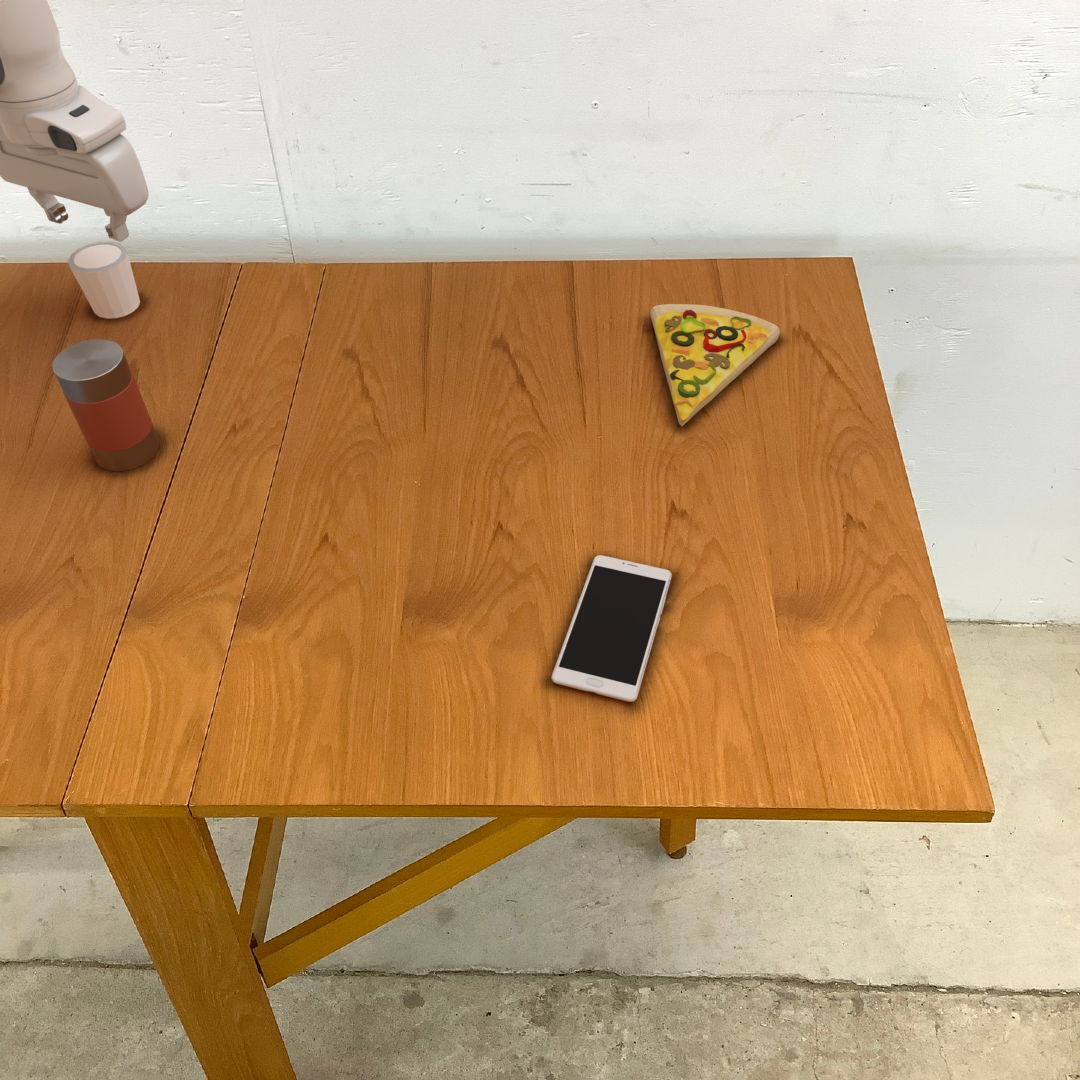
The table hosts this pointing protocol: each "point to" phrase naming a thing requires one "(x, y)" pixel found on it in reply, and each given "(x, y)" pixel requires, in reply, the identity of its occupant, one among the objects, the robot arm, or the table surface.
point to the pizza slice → (706, 350)
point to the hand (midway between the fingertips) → (89, 229)
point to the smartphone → (613, 628)
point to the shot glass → (106, 278)
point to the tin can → (106, 404)
